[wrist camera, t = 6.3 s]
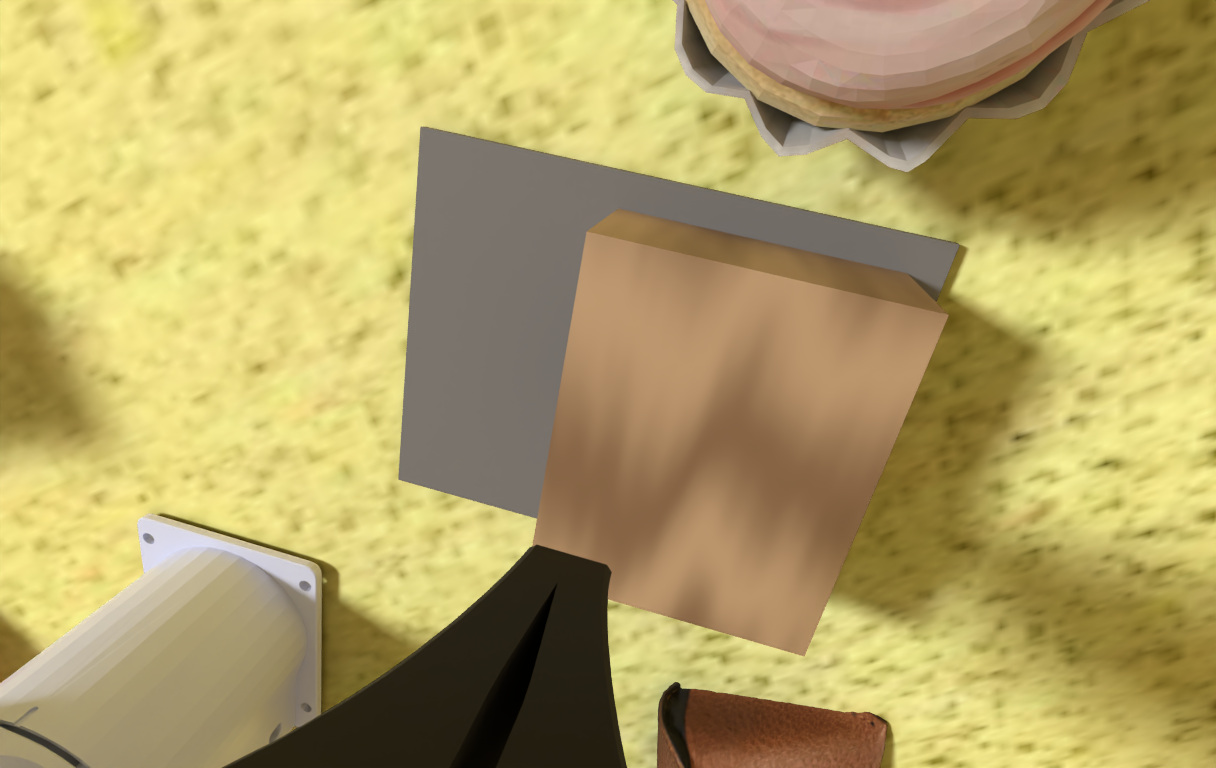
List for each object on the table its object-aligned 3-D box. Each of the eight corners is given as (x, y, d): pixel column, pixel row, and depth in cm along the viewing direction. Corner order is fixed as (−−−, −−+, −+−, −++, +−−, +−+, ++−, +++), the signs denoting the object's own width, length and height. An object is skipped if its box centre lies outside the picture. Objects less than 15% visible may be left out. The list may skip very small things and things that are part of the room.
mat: (814, 590, 22) (814, 596, 22) (402, 475, 24) (398, 479, 23) (956, 243, 17) (959, 245, 17) (425, 127, 19) (420, 126, 19)
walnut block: (563, 500, 22) (796, 565, 22) (527, 575, 19) (806, 656, 18) (618, 208, 18) (908, 273, 17) (586, 231, 15) (951, 315, 14)
